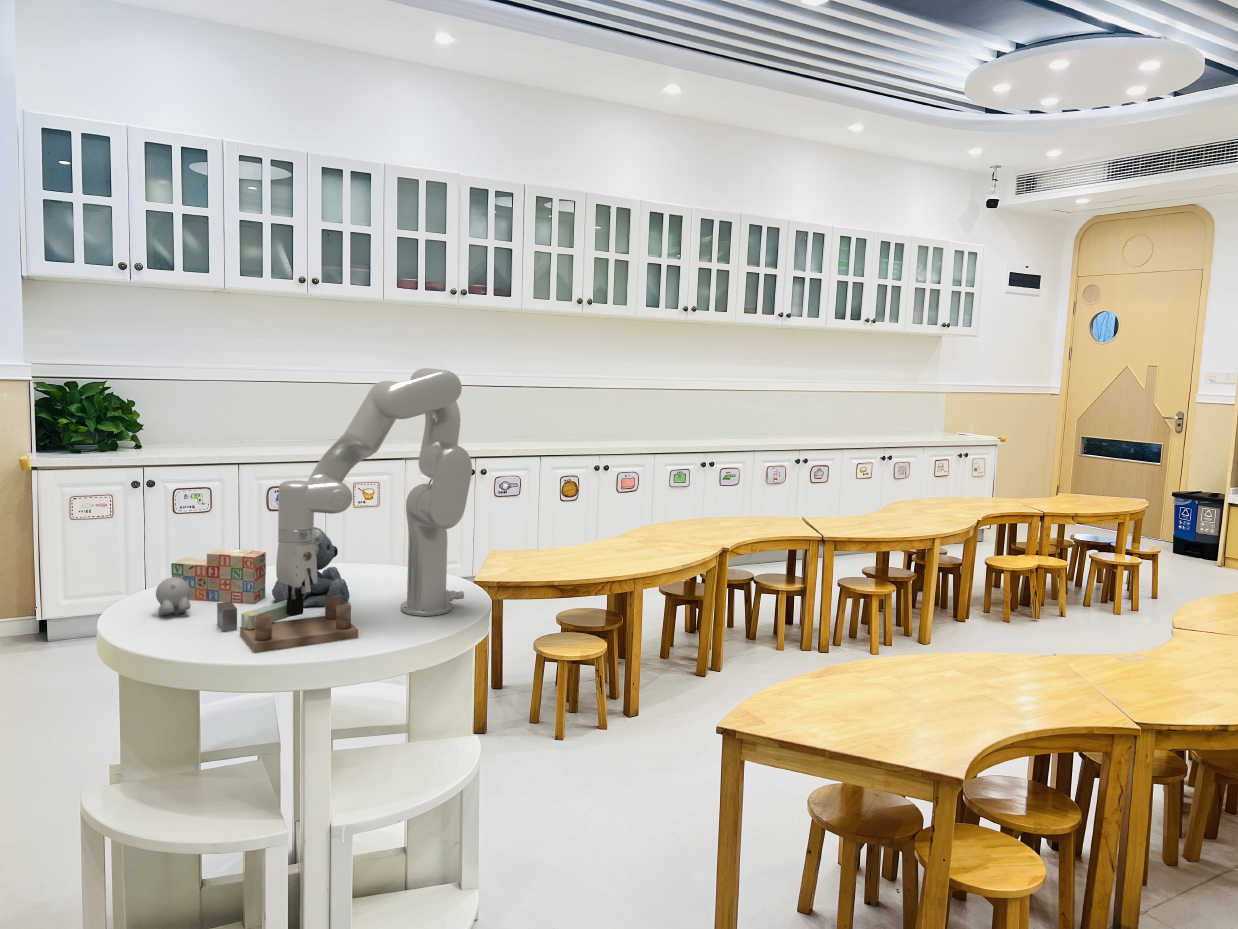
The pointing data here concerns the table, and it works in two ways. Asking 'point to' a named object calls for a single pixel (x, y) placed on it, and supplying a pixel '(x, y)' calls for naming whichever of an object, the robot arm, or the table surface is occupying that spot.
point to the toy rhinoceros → (173, 596)
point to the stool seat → (301, 629)
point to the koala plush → (320, 576)
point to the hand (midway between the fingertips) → (295, 614)
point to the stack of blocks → (224, 576)
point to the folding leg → (275, 610)
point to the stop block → (226, 616)
